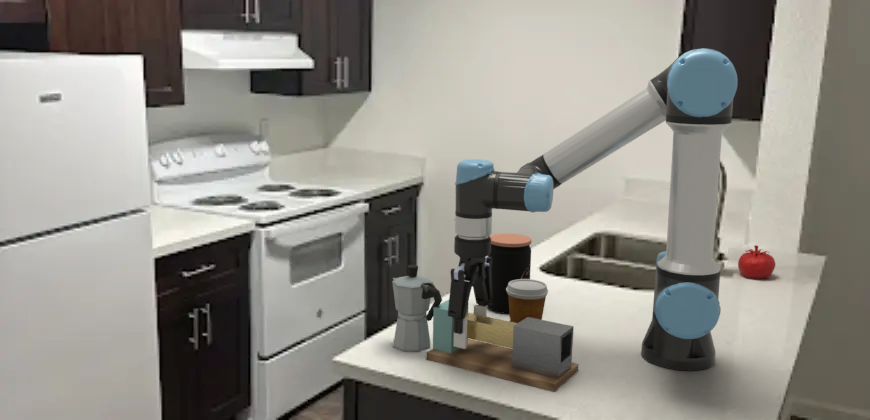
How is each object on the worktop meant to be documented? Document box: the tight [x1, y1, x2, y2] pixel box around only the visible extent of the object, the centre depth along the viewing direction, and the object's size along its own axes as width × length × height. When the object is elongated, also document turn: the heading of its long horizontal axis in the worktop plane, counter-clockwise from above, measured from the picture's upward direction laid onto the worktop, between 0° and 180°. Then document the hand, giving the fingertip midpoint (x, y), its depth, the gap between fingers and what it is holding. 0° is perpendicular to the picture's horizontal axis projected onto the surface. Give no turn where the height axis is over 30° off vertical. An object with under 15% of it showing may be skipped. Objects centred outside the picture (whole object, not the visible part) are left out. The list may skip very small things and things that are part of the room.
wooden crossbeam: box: [453, 312, 517, 349], centre depth 167 cm, size 20×4×4 cm, turn 59°
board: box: [425, 338, 579, 393], centre depth 167 cm, size 29×12×2 cm, turn 59°
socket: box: [432, 299, 470, 353], centre depth 172 cm, size 4×7×9 cm, turn 149°
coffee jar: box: [487, 233, 532, 315], centre depth 202 cm, size 11×11×18 cm
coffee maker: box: [392, 264, 443, 353], centre depth 175 cm, size 15×9×18 cm, turn 45°
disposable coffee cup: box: [506, 278, 549, 323], centre depth 184 cm, size 10×10×12 cm
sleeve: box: [512, 317, 574, 379], centre depth 162 cm, size 10×7×9 cm, turn 59°
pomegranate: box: [737, 244, 776, 280], centre depth 235 cm, size 10×10×9 cm
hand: (469, 340), depth 170 cm, fingers open, 8 cm apart
